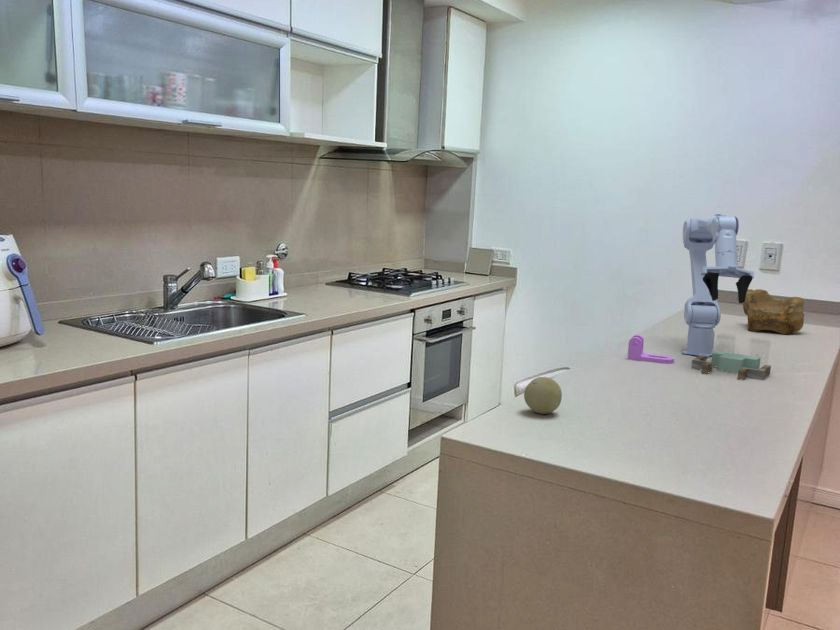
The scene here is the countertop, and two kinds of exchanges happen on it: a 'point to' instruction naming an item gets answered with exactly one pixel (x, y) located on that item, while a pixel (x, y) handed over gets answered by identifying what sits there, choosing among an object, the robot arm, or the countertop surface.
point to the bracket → (637, 353)
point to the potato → (543, 395)
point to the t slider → (734, 361)
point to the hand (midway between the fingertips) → (728, 300)
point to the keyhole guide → (742, 373)
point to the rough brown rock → (773, 312)
